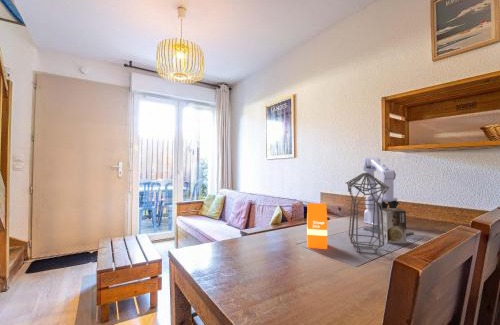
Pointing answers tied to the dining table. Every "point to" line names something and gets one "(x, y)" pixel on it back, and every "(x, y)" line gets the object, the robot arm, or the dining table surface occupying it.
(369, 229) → the stand base
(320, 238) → the orange juice
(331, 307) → the dining table surface
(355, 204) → the geometric lantern
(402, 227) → the coffee box
